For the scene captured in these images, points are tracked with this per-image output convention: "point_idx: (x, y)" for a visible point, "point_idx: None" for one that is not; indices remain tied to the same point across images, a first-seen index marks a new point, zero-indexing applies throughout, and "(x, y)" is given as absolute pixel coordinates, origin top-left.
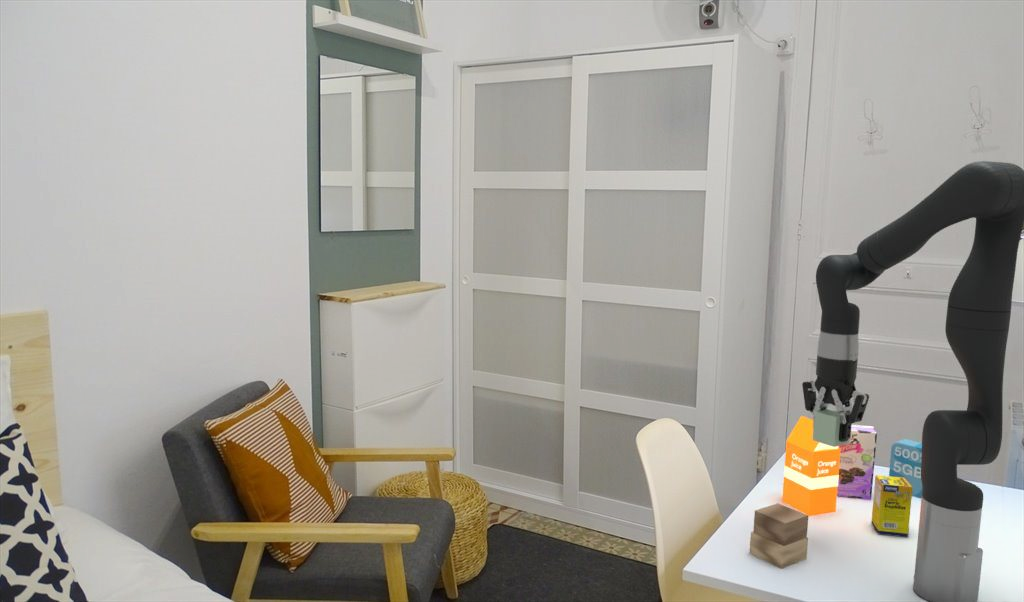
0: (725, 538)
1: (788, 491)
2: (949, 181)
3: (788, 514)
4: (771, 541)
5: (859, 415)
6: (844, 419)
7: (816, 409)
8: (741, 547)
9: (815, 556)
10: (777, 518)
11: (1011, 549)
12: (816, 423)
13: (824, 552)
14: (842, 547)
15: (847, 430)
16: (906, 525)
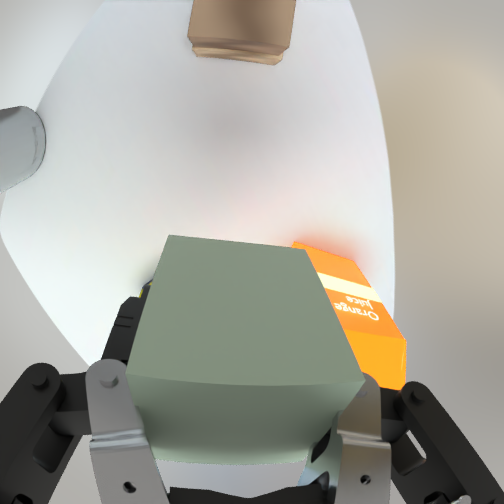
0: (349, 28)
1: (351, 270)
2: None
3: (226, 2)
4: None
5: (49, 435)
6: (96, 385)
7: (361, 412)
8: (308, 13)
9: (191, 80)
10: None
11: (70, 340)
12: (313, 312)
13: (189, 110)
14: (179, 159)
15: (110, 339)
16: (140, 296)
